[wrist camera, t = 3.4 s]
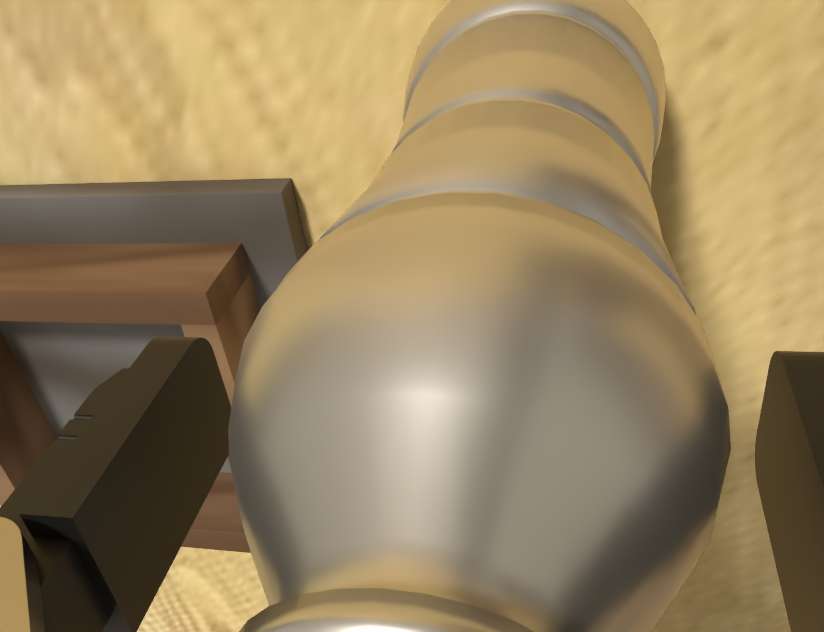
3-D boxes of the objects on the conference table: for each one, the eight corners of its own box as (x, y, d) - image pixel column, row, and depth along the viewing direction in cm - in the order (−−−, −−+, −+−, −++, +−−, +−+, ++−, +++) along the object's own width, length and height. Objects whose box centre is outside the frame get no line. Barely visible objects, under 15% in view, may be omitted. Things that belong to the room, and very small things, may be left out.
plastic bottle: (421, 172, 24) (88, 978, 8) (428, -67, 20) (-182, 617, 4) (634, 194, 23) (704, 1144, 8) (685, -51, 19) (1067, 880, 4)
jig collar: (-117, 188, 29) (-205, 243, 26) (290, 178, 25) (246, 241, 22) (48, 487, 38) (-2, 555, 35) (365, 510, 34) (341, 588, 31)
